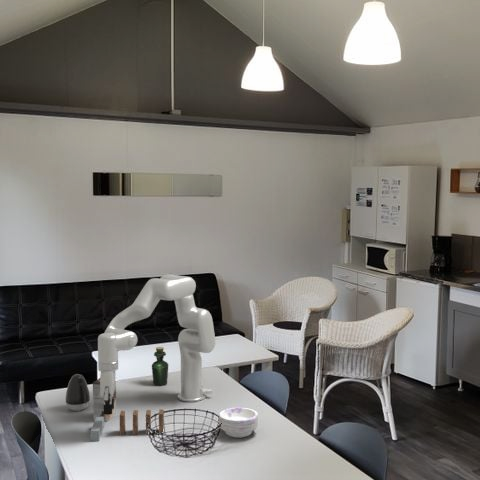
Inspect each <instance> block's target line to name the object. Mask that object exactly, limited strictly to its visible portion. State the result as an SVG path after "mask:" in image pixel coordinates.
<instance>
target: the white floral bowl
mask: <svg viewBox="0 0 480 480" xmlns="http://www.w3.org/2000/svg"><path fill="white" fill-rule="evenodd" d="M220 423H222V424H221V427H219V428H220V429H221V430H223V431H224V433H225V434H226V435H227V436H229V437H231V438H236V439H238V438H240V439H241V438H245V437H248V436H251V434H252V433H253V431H255V430H257V428H258V426H259V414H258V411H256V410H255V409H252V408H249V407H248V408H247V407H230V408H225V409H223V410H221V411H220V412H219V414H218V425H219V424H220Z"/></svg>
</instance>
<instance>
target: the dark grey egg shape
mask: <svg viewBox="0 0 480 480" xmlns="http://www.w3.org/2000/svg"><path fill="white" fill-rule="evenodd" d="M90 395H91V394H90V391H89V386H88V383H87V381H86V379H85V377H84V376H83V374H80V373H79V374H78V373H76V374H74V375H72V376H71V378H70V380H69V382H68V385H67V388H66V392H65V403H66V406H67V408H68V409H69V410H71V411H73V412H77V411H80V412H81V411H83V410H85V409H86V408H87V407H88V405H89V403H90V400H91V396H90Z"/></svg>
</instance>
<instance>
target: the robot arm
mask: <svg viewBox="0 0 480 480" xmlns="http://www.w3.org/2000/svg"><path fill="white" fill-rule="evenodd" d="M196 287H197V285H196V281H195V280H194V279H193V277H191V276H185V275H177V274H169V273H168V274H164V275H162V276H161V277H160V278H158V277H157V278H155V277H153V278H150V279H149V280H148V281H147V282H146V283H145V284H144V285H143V288H142V289H141V290H140V293H139V294H138V295H137V297H136V298H135V300H134V302H133V303H132V304H131V305H130V306H128V307H127V308H125V309H123V310H122V311H120V312H119V313H118V314H117V315H115V317H113V318H112V320H111V321H110V322H109V324H108V325H107V327H106V329H105V330H104V333H101V334H99V335H98V337H97V363H98V365H97V367H98V368H97V370H98V371H99V372H100V374H99V375H100V377H99V378H100V397H103V395H104V415H109V414H112V409H114V399H112V404H111V398H114V391H115V380H116V378H115V377H116V372H117V371H118V370H119V351H129V350H132V349H134V347H136V346H137V344H138V336H137V334H136V332H133V331H132V330H127V329H125V328H127V327H128V326H129V325H131V324H133V323H135V322H139V321H142V320H144V319H147V318H149V317H151V315H152V313H153V312H154V310H155V308H156V307H157V305H158V304H159V302H160V301H161V300H163V301H174V304H175V311H176V316H177V320H178V324H179V326H180V327H182V328H184V329H182V330H181V331H180V332H179V334H178V338H177V342H178V347H179V355H180V392H179V393H178V394H177V399H178V400H179V401H182V402H186V403H187V402H189V403H191V402H192V403H193V402H199V401H202V400H204V399H205V398H206V394H207V395H211V394H213V390H212V388H211V389H210V388H204V387H203V383H202V382H203V381H202V380H203V377H202V376H203V374H202V373H203V362H202V361H203V360H202V355H201V354H202V353H203V354H209V353H211V352H213V350H214V349H215V346H216V336H215V335H216V334H215V329H214V328H215V327H214V321H213V317H212V314H211V313H210V311H209V310H208V309H205V308H199V307H197V306H196V303H195V298H194V293H195V291H196ZM108 395H110V396H108ZM108 398H110V400H109V399H108Z"/></svg>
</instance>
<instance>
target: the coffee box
mask: <svg viewBox="0 0 480 480" xmlns="http://www.w3.org/2000/svg"><path fill="white" fill-rule="evenodd" d="M116 382H117V381H116V376H115V391H114V398H112V399H114V409H112V415H111V418H110V419H106V415H104V395H103V397H100V377H99V378H97V379H96V380H95V381H93V382H92V399H93V401H92V402H93V406H92V407H93V421H95V419H96V417H104V422H106V423H107V422H108V421H110V420H111V419H113V418H114V417H115V416H116V415H117V389H116V388H117V386H116Z"/></svg>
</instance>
